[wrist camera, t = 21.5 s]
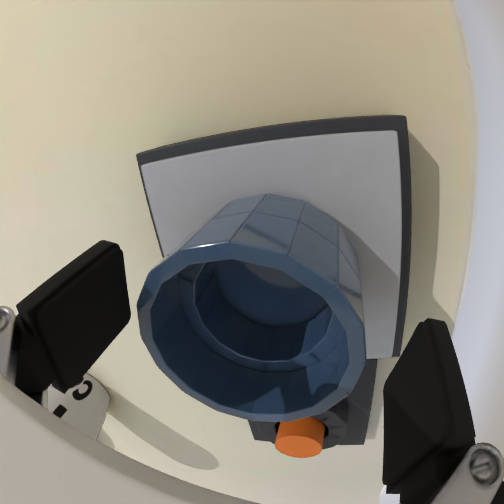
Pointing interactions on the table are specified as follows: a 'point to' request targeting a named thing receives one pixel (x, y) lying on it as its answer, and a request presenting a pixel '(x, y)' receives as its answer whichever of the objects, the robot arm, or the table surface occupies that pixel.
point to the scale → (304, 195)
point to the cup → (81, 405)
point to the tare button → (300, 437)
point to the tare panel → (336, 415)
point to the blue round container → (259, 311)
